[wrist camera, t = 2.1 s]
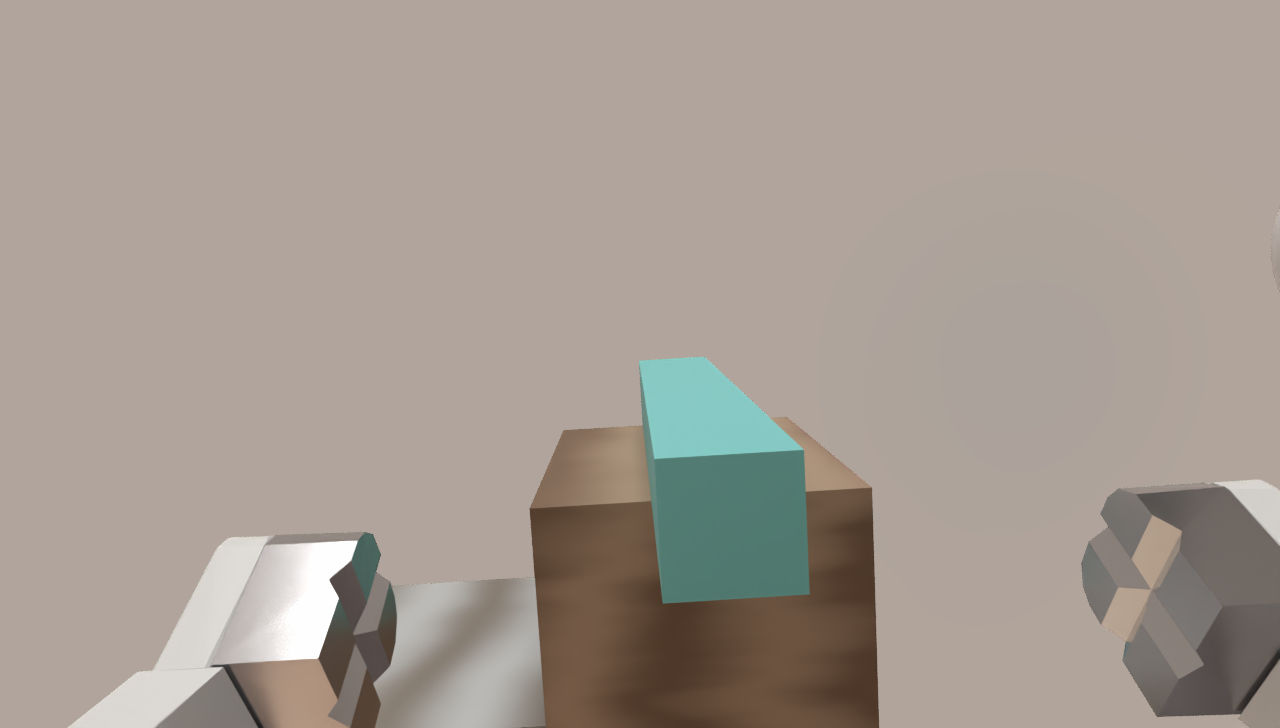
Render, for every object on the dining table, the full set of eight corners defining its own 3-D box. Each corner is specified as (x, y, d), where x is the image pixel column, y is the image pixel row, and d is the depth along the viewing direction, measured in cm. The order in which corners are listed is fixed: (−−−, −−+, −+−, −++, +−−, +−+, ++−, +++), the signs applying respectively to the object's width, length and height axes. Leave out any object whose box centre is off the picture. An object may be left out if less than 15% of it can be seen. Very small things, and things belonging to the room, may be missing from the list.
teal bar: (707, 421, 43) (704, 356, 43) (809, 594, 19) (804, 450, 19) (642, 425, 43) (639, 360, 42) (662, 603, 19) (654, 459, 19)
